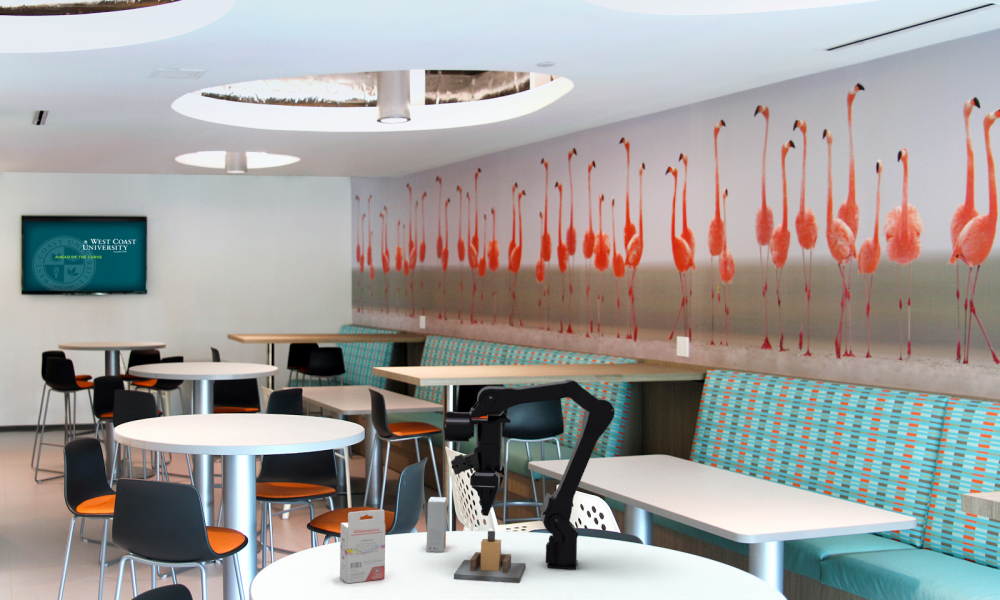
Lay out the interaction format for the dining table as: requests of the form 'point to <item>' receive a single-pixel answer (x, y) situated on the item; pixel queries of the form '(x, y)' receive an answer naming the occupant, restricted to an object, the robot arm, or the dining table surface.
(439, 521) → the skincare box
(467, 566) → the end holder
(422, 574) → the dining table surface
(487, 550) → the connector plug
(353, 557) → the ink cartridge box
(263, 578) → the dining table surface
